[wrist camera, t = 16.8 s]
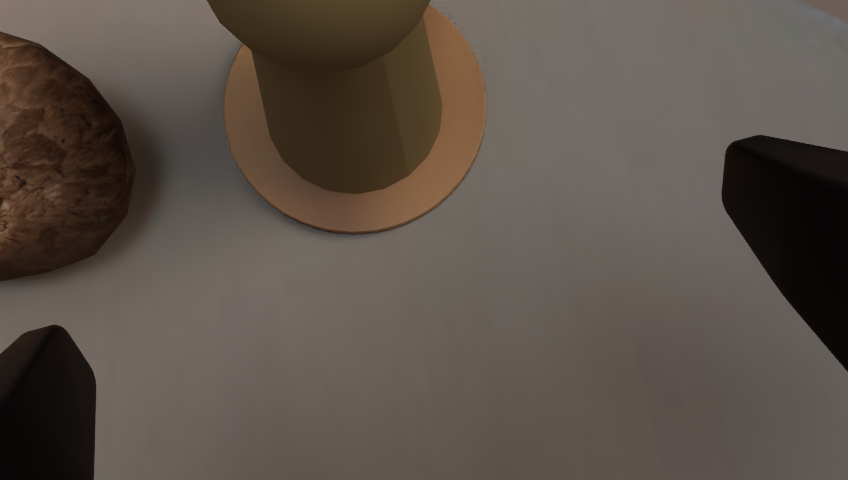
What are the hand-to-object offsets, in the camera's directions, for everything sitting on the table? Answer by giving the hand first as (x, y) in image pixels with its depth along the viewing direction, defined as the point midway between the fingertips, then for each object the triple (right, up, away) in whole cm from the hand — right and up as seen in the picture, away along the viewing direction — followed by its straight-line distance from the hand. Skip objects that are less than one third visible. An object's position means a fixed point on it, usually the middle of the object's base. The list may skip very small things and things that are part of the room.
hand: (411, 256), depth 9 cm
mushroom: (-13, +2, +14) cm, 19 cm away
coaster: (-2, +5, +15) cm, 16 cm away
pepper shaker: (-2, +5, +14) cm, 15 cm away
